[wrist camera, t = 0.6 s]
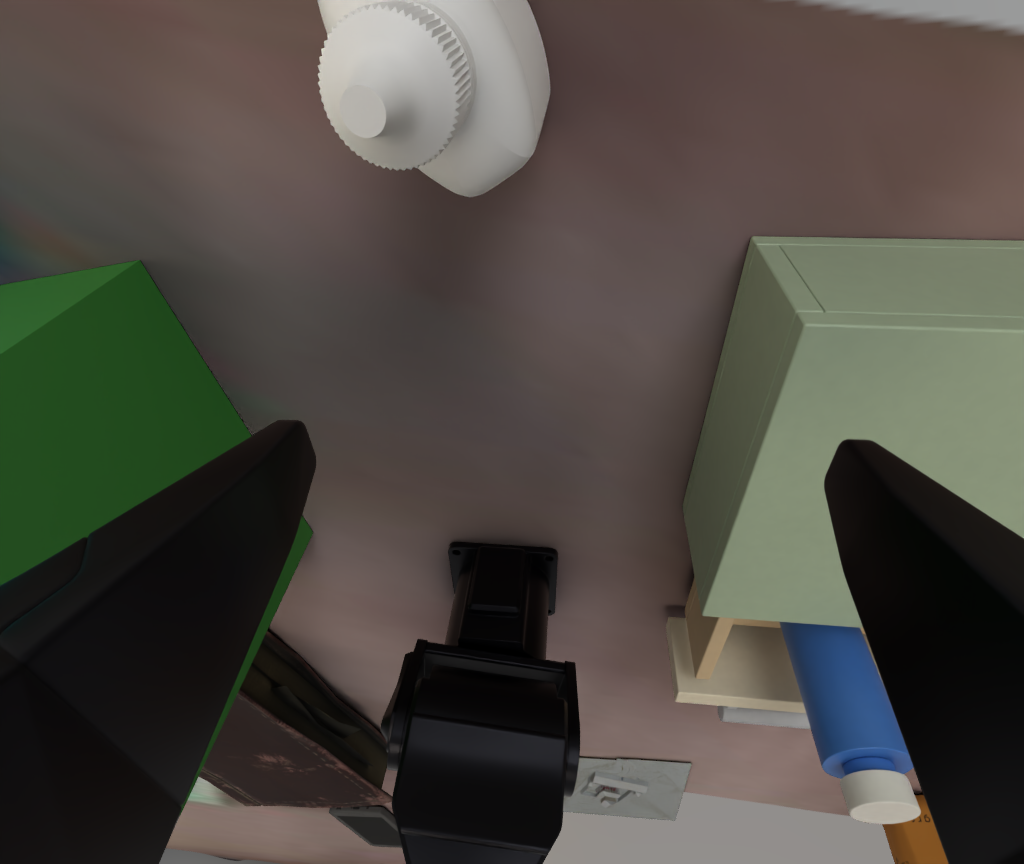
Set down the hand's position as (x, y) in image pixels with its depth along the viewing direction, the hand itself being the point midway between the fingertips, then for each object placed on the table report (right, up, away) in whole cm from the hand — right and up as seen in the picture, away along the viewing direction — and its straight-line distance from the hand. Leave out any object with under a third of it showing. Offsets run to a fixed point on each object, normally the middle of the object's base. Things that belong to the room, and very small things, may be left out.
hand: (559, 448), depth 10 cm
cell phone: (-18, -50, +63) cm, 82 cm away
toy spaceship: (+7, -32, +45) cm, 55 cm away
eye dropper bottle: (-2, +13, +8) cm, 15 cm away
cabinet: (+15, +2, +15) cm, 22 cm away
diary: (-24, -24, +42) cm, 53 cm away
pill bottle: (+15, -9, +21) cm, 28 cm away
